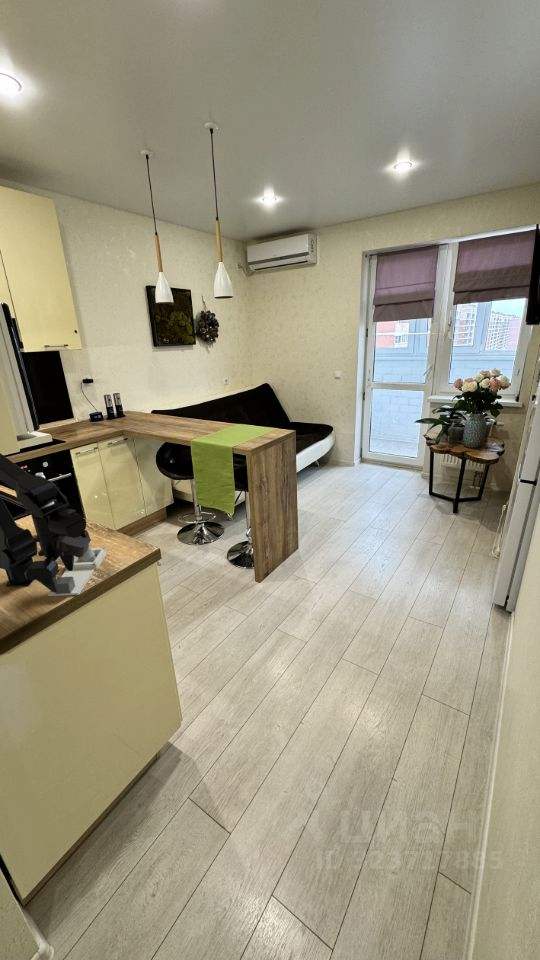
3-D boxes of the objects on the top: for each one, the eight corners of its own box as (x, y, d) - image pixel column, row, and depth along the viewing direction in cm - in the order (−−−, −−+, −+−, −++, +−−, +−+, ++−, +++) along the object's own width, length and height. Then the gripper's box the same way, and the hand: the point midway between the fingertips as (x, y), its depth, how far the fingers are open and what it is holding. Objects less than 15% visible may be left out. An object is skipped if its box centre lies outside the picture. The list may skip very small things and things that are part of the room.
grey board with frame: (46, 596, 101) (42, 584, 99) (78, 554, 120) (76, 544, 118) (80, 594, 101) (77, 582, 100) (107, 552, 120) (104, 542, 119)
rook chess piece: (77, 561, 116) (72, 538, 113) (90, 554, 120) (85, 532, 117) (86, 565, 114) (81, 542, 111) (99, 558, 118) (94, 535, 115)
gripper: (65, 548, 87) (79, 602, 92) (95, 511, 104) (106, 559, 110) (15, 550, 86) (33, 605, 92) (54, 513, 103) (67, 561, 109)
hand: (63, 580), depth 101 cm, fingers open, 9 cm apart
